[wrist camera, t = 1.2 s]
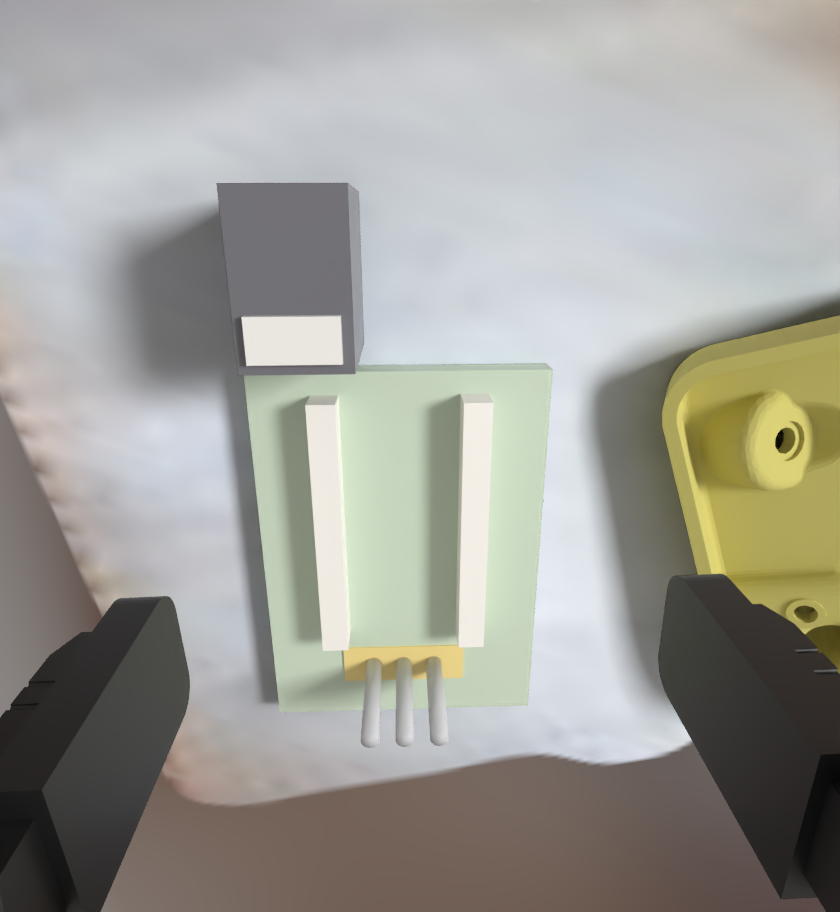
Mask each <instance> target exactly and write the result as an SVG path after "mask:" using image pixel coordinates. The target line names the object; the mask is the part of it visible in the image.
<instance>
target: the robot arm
mask: <svg viewBox="0 0 840 912" xmlns="http://www.w3.org/2000/svg"><path fill="white" fill-rule="evenodd" d="M658 662H659V672H660V677H661V681H662V684H663V687H664V690H665V692H666V694H667V696H668V698H669V700H670V702H671V704H672V705H673V707H674V709H675V711H676V713H677V714H678V716H679V718H680V720H681V721H682V723H683V725H684V727H685V729H686V730H687V732H688V734H689V736H690V738H691V739H692V741H693V743H694V744H695V746H696V748H697V750H698V752H699V754H700V755H701V757H702V759H703V761H704V762H705V764H706V766H707V768H708V770H709V771H710V773H711V775H712V777H713V779H714V780H715V782H716V784H717V786H718V788H719V789H720V791H721V793H722V795H723V797H724V798H725V800H726V802H727V804H728V806H729V807H730V809H731V811H732V812H733V814H734V816H735V818H736V820H737V822H738V823H739V825H740V827H741V829H742V831H743V832H744V834H745V836H746V838H747V839H748V841H749V843H750V845H751V846H752V848H753V850H754V852H755V854H756V856H757V857H758V859H759V861H760V863H761V865H762V866H763V868H764V870H765V872H766V873H767V875H768V877H769V879H770V880H771V882H772V884H773V886H774V888H775V890H776V891H777V893H778V895H779V897H780V898H781V899H797V898H815V897H817V898H818V899H819V901H820V903H821V904H822V906H823V907H824V909H825V911H826V912H840V674H839V673H838V668H837V667H836V666H835V665H834V664H833V663H832V662H831V661H830V660H829V659H828V658H827V657H826V656H825V655H824V654H823V653H819V652H818V647H817V646H816V645H815V644H814V643H813V642H812V641H811V640H810V639H809V638H808V637H807V636H806V635H805V634H804V633H803V632H802V631H801V630H800V629H799V628H798V627H797V626H796V625H795V624H794V623H793V622H791V621H789V620H788V619H786V618H784V617H783V616H781V615H779V614H778V613H776V612H774V611H773V610H771V609H769V608H768V607H766V606H764V605H763V604H752V603H751V602H750V601H749V600H748V599H747V598H746V596H745V595H744V594H743V593H742V592H741V591H740V590H739V589H738V588H737V587H736V585H735V584H734V583H733V582H732V581H731V580H730V579H729V578H728V577H727V576H725V575H724V574H701V575H678V576H674V577H672V578H671V580H670V582H669V584H668V589H667V595H666V603H665V610H664V617H663V625H662V632H661V639H660V646H659V655H658ZM189 690H190V679H189V671H188V667H187V662H186V657H185V652H184V647H183V642H182V638H181V633H180V628H179V623H178V618H177V613H176V609H175V605H174V603H173V601H172V599H171V598H170V597H168V596H162V597H139V598H120V599H117V600H116V601H115V602H114V603H113V604H112V605H111V607H110V608H109V609H108V611H107V612H106V613H105V615H104V616H103V618H102V619H101V621H100V622H99V623H98V624H97V626H96V627H95V629H94V630H93V631H92V632H81V633H80V634H78V635H77V636H76V637H74V638H73V639H72V640H70V641H69V642H67V643H66V644H65V645H63V646H62V647H61V648H59V649H58V650H56V651H55V652H54V653H52V654H51V655H50V656H49V657H48V658H47V659H46V661H45V662H44V663H43V665H42V666H41V667H40V668H39V670H38V671H37V672H36V673H35V675H34V676H33V677H32V678H31V680H30V681H29V686H28V687H24V688H23V690H22V691H21V692H20V693H19V695H18V696H17V697H16V698H15V700H14V701H13V702H12V704H11V709H10V710H7V711H5V712H4V714H3V715H2V716H1V718H0V912H100V911H101V909H102V907H103V905H104V902H105V900H106V898H107V895H108V893H109V891H110V888H111V886H112V884H113V881H114V879H115V877H116V874H117V872H118V870H119V867H120V865H121V863H122V860H123V858H124V856H125V853H126V851H127V848H128V846H129V844H130V842H131V839H132V837H133V835H134V832H135V830H136V828H137V825H138V823H139V821H140V818H141V816H142V814H143V811H144V809H145V806H146V804H147V802H148V800H149V797H150V795H151V793H152V790H153V788H154V785H155V783H156V781H157V778H158V776H159V774H160V772H161V769H162V767H163V765H164V762H165V760H166V758H167V755H168V753H169V751H170V748H171V746H172V744H173V741H174V739H175V737H176V734H177V732H178V730H179V727H180V725H181V723H182V720H183V718H184V716H185V713H186V709H187V705H188V700H189Z"/></svg>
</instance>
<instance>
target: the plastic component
mask: <svg viewBox="0 0 840 912" xmlns="http://www.w3.org/2000/svg"><path fill="white" fill-rule="evenodd" d="M662 427H663V431H664V435H665V440H666V444H667V448H668V452H669V456H670V460H671V465H672V469H673V473H674V477H675V481H676V485H677V490H678V494H679V498H680V502H681V506H682V511H683V515H684V519H685V523H686V527H687V531H688V536H689V540H690V544H691V548H692V552H693V556H694V561H695V565H696V569H697V573H698V575H701V574H724V575H725V576H727V577H728V578H729V579H730V580H731V581H732V582H733V583H734V584H735V585H736V587H737V588H738V589H739V590H740V591H741V592H742V593H743V594H744V595H745V596H746V598H747V599H748V600H749V601H750V602H751V603H752V604H763V605H764V606H766V607H768V608H769V609H771V610H773V611H774V612H776V613H778V614H779V615H781V616H783V617H784V618H786V619H788V620H789V621H791V622H793V623H794V624H795V625H796V626H797V627H798V628H799V629H800V630H801V631H802V632H803V633H804V634H805V635H806V636H807V637H808V638H809V639H810V640H811V641H812V642H813V643H814V644H815V645H816V646H817V647H818V652H819V653H823V654H824V655H825V656H826V657H827V658H828V659H829V660H830V661H831V662H832V663H833V664H834V665H835V666H836V667H837V668H838V673H839V674H840V315H839V316H834V317H830V318H826V319H821V320H817V321H813V322H808V323H804V324H799V325H795V326H791V327H786V328H782V329H778V330H773V331H769V332H765V333H760V334H756V335H752V336H747V337H743V338H738V339H734V340H730V341H725V342H721V343H717V344H713V345H709V346H706V347H704V348H702V349H700V350H698V351H696V352H694V353H693V354H691V355H690V356H689V357H688V358H686V359H685V360H684V361H683V362H682V363H681V364H680V365H679V366H678V368H677V369H676V371H675V372H674V373H673V375H672V378H671V380H670V382H669V385H668V388H667V393H666V397H665V402H664V406H663V410H662ZM781 429H782V431H783V433H784V441H783V443H782V445H781V447H780V448H779V449H776V447H775V439H776V436H777V434H778V433H779V431H780V430H781Z"/></svg>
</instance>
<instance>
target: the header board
mask: <svg viewBox="0 0 840 912" xmlns="http://www.w3.org/2000/svg"><path fill="white" fill-rule="evenodd" d="M552 372H553V369H552V368H550V367H549V366H548V365H547V364H546V363H545V364H454V365H362V366H358V367H357V371H356V374H338V375H248V376H244V383H245V393H246V402H247V411H248V421H249V430H250V439H251V449H252V458H253V467H254V476H255V486H256V495H257V504H258V514H259V523H260V532H261V542H262V551H263V560H264V570H265V579H266V588H267V598H268V607H269V616H270V626H271V635H272V644H273V654H274V663H275V672H276V682H277V691H278V700H279V710H280V712H311V711H347V710H363V717H362V731H361V743H362V745H363V746H365V747H367V748H373V747H375V746H377V745H378V744H379V739H380V710H382V709H396V743H397V744H398V745H400V746H402V747H407V746H410V745H412V744H413V742H414V716H413V709H417V708H429V724H430V739H431V742H432V743H433V744H434V745H437V746H441V745H444V744H446V743H447V742H448V740H449V733H448V723H447V714H446V708H452V707H487V706H522V705H528V695H529V681H530V668H531V654H532V641H533V627H534V614H535V600H536V587H537V574H538V560H539V547H540V533H541V520H542V506H543V493H544V479H545V466H546V453H547V439H548V426H549V412H550V399H551V385H552Z"/></svg>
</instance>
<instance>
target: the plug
mask: <svg viewBox="0 0 840 912" xmlns="http://www.w3.org/2000/svg"><path fill="white" fill-rule="evenodd" d="M217 192H218V201H219V210H220V219H221V228H222V237H223V246H224V255H225V264H226V273H227V282H228V291H229V300H230V309H231V318H232V327H233V336H234V345H235V354H236V364H237V373H238V376H248V375H338V374H356V371H357V367H358V363H359V360H360V356H361V352H362V349H363V345H364V325H363V296H362V268H361V239H360V211H359V192H358V191H357V190H356V189H355V188H353V187H352V186H351V185H350V184H348V183H217Z"/></svg>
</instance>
